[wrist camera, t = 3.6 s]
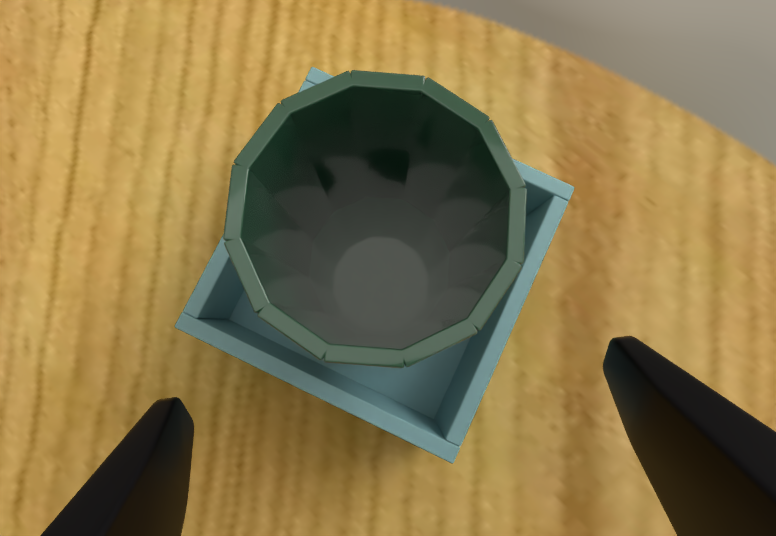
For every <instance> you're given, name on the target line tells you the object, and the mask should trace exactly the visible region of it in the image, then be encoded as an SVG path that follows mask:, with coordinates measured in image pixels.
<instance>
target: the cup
mask: <svg viewBox="0 0 776 536" xmlns="http://www.w3.org/2000/svg"><path fill="white" fill-rule="evenodd" d="M234 163H235V165H232V170H231V178H230V186H229V194H228V203H227V211H226V219H225V227H224V236H223V239H224V240H225V242H224V245H225V247H226V250H227V252H228V254H229V257H230V259H231V261H232V263H233V266H234V268H235V270H236V272H237V275H238V277H239V279H240V281H241V284H242V286H243V288H244V290H245V293H246V295H247V297H248V299H249V302H250V304H251V306H252V308H253V311H254V312H255V313H258V314H257V316H258V317H259V318H261V319H262V320H263V321H265V322H266V323H268V324H269V325H271V326H272V327H273V328H275V329H276V330H278V331H279V332H281V333H282V334H283V335H285V336H286V337H288V338H289V339H290V340H292V341H293V342H295V343H296V344H298V345H299V346H300V347H302V348H303V349H305V350H306V351H307V352H309V353H310V354H312V355H313V356H315V357H316V358H317V359H319V360H323V359H324V362H328V363H341V364H353V365H366V366H378V367H391V368H404V364H405V366H406V367H410V366H412V365H414V364H416V363H418V362H420V361H422V360H424V359H426V358H428V357H430V356H432V355H434V354H436V353H438V352H440V351H442V350H444V349H447V348H449V347H451V346H453V345H455V344H457V343H459V342H461V341H463V340H465V339H467V338H469V337H471V336H473V335H475V334H477V330H479V331H480V330H481V329H482V328H483V326H484V325H485V323H486V322H487V320H488V319H489V317H490V316H491V314H492V312H493V311H494V309H495V308H496V306H497V305H498V303H499V302H500V300H501V299H502V297H503V296H504V294H505V293H506V291H507V290H508V288H509V287H510V285H511V284H512V282H513V281H514V279H515V277H516V276H517V274H518V273H519V271H520V270H521V268H522V266H521V265H520V264H523V262H524V244H525V222H526V200H527V189H526V188H524V187H525V186H526V184H525V182H524V180H523V178H522V176H521V174H520V172H519V171H518V169H517V167H516V165H515V163H514V161H513V159H512V157H511V155H510V153H509V151H508V149H507V148H506V146H505V144H504V142H503V140H502V138H501V136H500V134H499V132H498V130H497V128H496V127H495V125H494V123H493V121H492V120H489V116H487V115H486V114H484V113H482V112H481V111H479V110H478V109H476V108H475V107H473V106H472V105H470V104H469V103H467V102H466V101H464V100H463V99H461V98H459V97H458V96H456V95H455V94H453V93H452V92H450V91H449V90H447V89H446V88H444V87H443V86H441V85H440V84H438V83H436V82H435V81H433V80H432V79H430V78H426V80H425V76H420V75H407V74H394V73H382V72H369V71H357V70H352V71H351V73H350V72H349V71H346V72H344V73H342V74H339V75H337V76H335V77H333V78H330V79H328V80H326V81H324V82H321V83H319V84H317V85H315V86H312V87H310V88H308V89H306V90H303V91H301V92H299V93H297V94H294V95H292V96H290V97H287V98H285V99H283V100H281V104H280V103H277V105H276V106H275V107H274V109H273V110H272V111H271V113H270V114H269V115H268V117H267V118H266V119H265V121H264V122H263V123H262V125H261V126H260V127H259V128H258V130H257V131H256V132H255V134H254V135H253V136H252V138H251V139H250V140H249V142H248V143H247V144H246V146H245V147H244V148H243V150H242V151H241V152H240V154H239V155H238V156H237V158H236V159H235V160H234Z"/></svg>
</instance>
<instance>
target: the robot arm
mask: <svg viewBox="0 0 776 536" xmlns="http://www.w3.org/2000/svg"><path fill="white" fill-rule="evenodd" d="M603 371H604V375H605V378H606V380H607V383H608V385H609V388H610V391H611V393H612V396H613V399H614V401H615V404H616V407H617V409H618V412H619V415H620V417H621V420H622V423H623V425H624V428H625V431H626V433H627V435H628V438H629V440H630V442H631V445H632V447H633V449H634V451H635V453H636V455H637V457H638V459H639V461H640V463H641V465H642V467H643V469H644V471H645V473H646V475H647V477H648V479H649V481H650V483H651V485H652V486H653V488H654V490H655V492H656V494H657V496H658V498H659V500H660V502H661V504H662V506H663V508H664V510H665V512H666V514H667V516H668V518H669V520H670V522H671V524H672V526H673V528H674V530H675V532H676V534H677V536H776V432H775V431H774V430H772V429H771V428H769V427H768V426H766V425H765V424H763V423H762V422H760V421H759V420H757V419H756V418H754V417H753V416H751V415H750V414H748V413H747V412H745V411H744V410H742V409H741V408H739V407H738V406H736V405H735V404H733V403H732V402H730V401H729V400H727V399H726V398H724V397H723V396H721V395H720V394H718V393H717V392H715V391H714V390H713V389H711V388H710V387H708V386H707V385H705V384H704V383H702V382H701V381H699V380H698V379H696V378H695V377H693V376H692V375H690V374H689V373H687V372H686V371H684V370H683V369H681V368H680V367H678V366H677V365H675V364H674V363H672V362H671V361H669V360H668V359H666V358H665V357H663V356H662V355H660V354H659V353H657V352H656V351H654V350H653V349H651V348H650V347H648V346H647V345H646V344H644V343H643V342H641V341H640V340H638V339H636V338H635V337H632V336H624V337H617V338H613V339H612V340H611V341H610V343H609V346H608V349H607V352H606V355H605V358H604V362H603ZM193 437H194V423H193V420H192V418H191V416H190V414H189V413H188V411H187V409H186V408H185V406H184V404H183V403H182V401H181V400H180V399H179V398H177V397H172V398H165V399H160V400H157V401H156V402H155V403H154V404H153V405H152V406H151V407H150V408H149V409H148V410H147V412H146V413H145V414H144V415H143V416H142V417H141V419H140V420H139V421H138V422H137V423H136V424H135V426H134V427H133V428H132V429H131V430H130V431H129V433H128V434H127V435H126V436H125V437H124V439H123V440H122V441H121V442H120V443H119V444H118V446H117V447H116V448H115V449H114V450H113V451H112V453H111V454H110V455H109V456H108V457H107V458H106V460H105V461H104V462H103V463H102V464H101V465H100V467H99V468H98V469H97V470H96V471H95V472H94V474H93V475H92V476H91V477H90V478H89V479H88V481H87V482H86V483H85V484H84V485H83V486H82V488H81V489H80V490H79V491H78V492H77V493H76V495H75V496H74V497H73V498H72V499H71V500H70V502H69V503H68V504H67V505H66V506H65V508H64V509H63V510H62V511H61V512H60V513H59V515H58V516H57V517H56V518H55V519H54V520H53V522H52V523H51V524H50V525H49V526H48V527H47V529H46V530H45V531H44V532H43V533H42V534H41V536H181V533H182V528H183V523H184V518H185V513H186V507H187V500H188V492H189V481H190V470H191V459H192V448H193Z"/></svg>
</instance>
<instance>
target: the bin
mask: <svg viewBox="0 0 776 536" xmlns="http://www.w3.org/2000/svg"><path fill="white" fill-rule="evenodd" d="M333 77H334V76H332V75H329V74H327V73H325V72H323V71H321V70H318V69H316V68H314V67H311V69H310V71H309V73H308V75H307V77H306V81H304V82H303V84H302V86H301V88H300V90H299V92H301V91H303V90H306V89H308V88H310V87H312V86H315V85H317V84H319V83H321V82H324V81H326V80H328V79H330V78H333ZM299 92H298V93H299ZM513 161H514V163H515V165H516V167H517V169H518V171H519V172H520V174H521V176H522V178H523V180H524V182H525V184H526V186H525V187H524V188H526V189H527V200H526V222H525V244H524V262H523V264H520V265H521V266H522V268H521V270H520V271H519V273H518V274H517V276H516V277H515V279H514V281H513V282H512V284H511V285H510V287H509V288H508V290H507V291H506V293H505V294H504V296H503V297H502V299H501V300H500V302H499V303H498V305H497V306H496V308H495V309H494V311H493V312H492V314H491V316H490V317H489V319H488V320H487V322H486V323H485V325H484V326H483V328H482V329H481V330H480V331H479V330H477V334H475V335H473V336H471V337H469V338H467V339H465V340H463V341H461V342H459V343H457V344H455V345H453V346H451V347H449V348H447V349H444V350H442V351H440V352H438V353H436V354H434V355H432V356H430V357H428V358H426V359H424V360H422V361H420V362H418V363H416V364H414V365H412V366H410V367H406V366H405V364H404V368H391V367H378V366H366V365H353V364H341V363H328V362H324V359H323V360H319V359H317V358H316V357H315V356H313V355H312V354H310V353H309V352H307V351H306V350H305V349H303V348H302V347H300V346H299V345H298V344H296V343H295V342H293V341H292V340H290V339H289V338H288V337H286V336H285V335H283V334H282V333H281V332H279V331H278V330H276V329H275V328H273V327H272V326H271V325H269V324H268V323H266V322H265V321H263V320H262V319H261V318H259V317H258V316H257V314H258V313H255V312H254V311H253V308H252V306H251V304H250V302H249V299H248V297H247V295H246V293H245V290H244V288H243V286H242V284H241V281H240V279H239V277H238V275H237V272H236V270H235V268H234V266H233V263H232V261H231V259H230V257H229V254H228V252H227V250H226V247H225V245H224V242H225V240H224V239H223V236H224V234H223V236H222V238H221V240H220V242H219V243H218V245H217V247H216V249H215V251H214V253H213V255H212V257H211V259H210V260H209V262H208V264H207V266H206V268H205V270H204V272H203V274H202V276H201V278H200V279H199V281H198V283H197V285H196V287H195V289H194V291H193V293H192V295H191V296H190V298H189V300H188V302H187V304H186V306H185V308H184V310H183V312H182V313H181V315H180V317H179V319H178V321H177V322H176V324H175V328H177V329H179V330H181V331H183V332H185V333H187V334H189V335H191V336H193V337H195V338H197V339H199V340H201V341H203V342H205V343H207V344H210V345H212V346H214V347H216V348H218V349H220V350H222V351H224V352H226V353H228V354H230V355H232V356H234V357H236V358H238V359H240V360H242V361H244V362H246V363H248V364H250V365H252V366H254V367H256V368H258V369H260V370H263V371H265V372H267V373H269V374H271V375H273V376H275V377H277V378H279V379H281V380H283V381H285V382H287V383H289V384H291V385H293V386H295V387H297V388H299V389H301V390H303V391H305V392H307V393H309V394H311V395H313V396H316V397H318V398H320V399H322V400H324V401H326V402H328V403H330V404H332V405H334V406H336V407H338V408H340V409H342V410H344V411H346V412H348V413H350V414H352V415H354V416H356V417H358V418H360V419H362V420H364V421H366V422H368V423H371V424H373V425H375V426H377V427H379V428H381V429H383V430H385V431H387V432H389V433H391V434H393V435H395V436H397V437H399V438H401V439H403V440H405V441H407V442H409V443H411V444H413V445H415V446H417V447H419V448H421V449H424V450H426V451H428V452H430V453H432V454H434V455H436V456H438V457H440V458H442V459H444V460H446V461H448V462H450V463H454V461H455V459H456V456H457V454H458V452H459V449H460V447H459V446H461V445H462V442H463V440H464V438H465V435H466V433H467V431H468V429H469V426H470V424H471V422H472V420H473V417H474V415H475V413H476V411H477V408H478V406H479V404H480V401H481V399H482V397H483V395H484V392H485V390H486V388H487V386H488V383H489V381H490V379H491V377H492V374H493V372H494V370H495V367H496V365H497V363H498V361H499V358H500V356H501V354H502V352H503V349H504V347H505V345H506V343H507V340H508V338H509V336H510V333H511V331H512V329H513V327H514V324H515V322H516V320H517V318H518V315H519V313H520V311H521V309H522V306H523V304H524V302H525V299H526V297H527V295H528V293H529V290H530V288H531V286H532V284H533V281H534V279H535V277H536V274H537V272H538V270H539V268H540V265H541V263H542V261H543V259H544V256H545V254H546V252H547V250H548V247H549V245H550V243H551V240H552V238H553V236H554V234H555V231H556V229H557V227H558V225H559V222H560V220H561V218H562V216H563V213H564V211H565V209H566V206H567V204H568V201H569V200H570V197H571V195H572V193H573V191H574V187H573V186H571V185H569V184H567V183H565V182H562V181H560V180H558V179H556V178H554V177H552V176H549V175H547V174H545V173H543V172H541V171H538V170H536V169H534V168H532V167H530V166H528V165H525V164H523V163H521V162H519V161H517V160H514V159H513Z"/></svg>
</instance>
